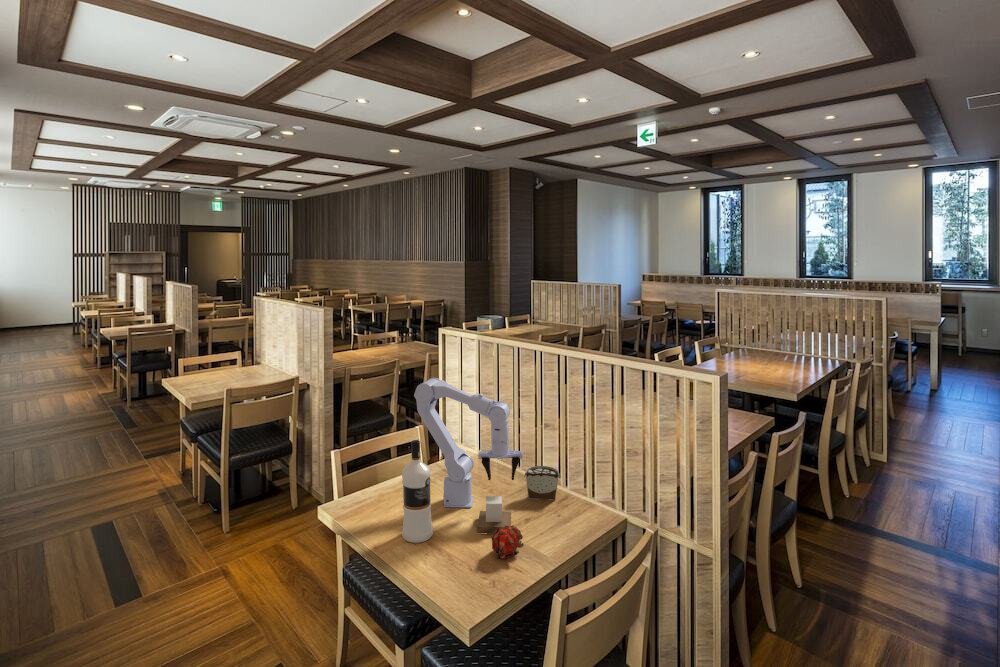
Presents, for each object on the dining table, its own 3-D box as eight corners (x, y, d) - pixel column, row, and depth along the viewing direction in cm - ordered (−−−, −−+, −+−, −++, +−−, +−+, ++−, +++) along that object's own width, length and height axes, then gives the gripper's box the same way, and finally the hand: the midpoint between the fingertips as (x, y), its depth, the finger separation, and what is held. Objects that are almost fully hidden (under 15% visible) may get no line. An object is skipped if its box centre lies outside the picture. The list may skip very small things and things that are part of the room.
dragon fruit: (518, 547, 159) (501, 575, 148) (496, 528, 160) (478, 553, 150) (533, 532, 155) (516, 558, 144) (510, 511, 156) (492, 537, 146)
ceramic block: (485, 521, 166) (485, 503, 165) (485, 513, 171) (485, 496, 170) (501, 521, 166) (502, 503, 165) (501, 514, 171) (501, 496, 170)
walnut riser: (477, 535, 163) (477, 526, 163) (480, 519, 173) (480, 510, 173) (510, 536, 163) (510, 527, 163) (510, 520, 173) (511, 511, 172)
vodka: (414, 525, 168) (412, 433, 163) (439, 532, 164) (437, 438, 159) (395, 539, 160) (392, 443, 155) (420, 547, 156) (418, 448, 151)
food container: (559, 492, 191) (560, 465, 190) (559, 500, 185) (560, 473, 184) (524, 490, 192) (525, 464, 191) (524, 498, 186) (524, 471, 185)
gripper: (476, 444, 172) (478, 484, 174) (522, 443, 171) (523, 483, 173) (478, 436, 179) (480, 475, 181) (522, 436, 178) (523, 475, 180)
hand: (501, 478), depth 178 cm, fingers open, 7 cm apart
